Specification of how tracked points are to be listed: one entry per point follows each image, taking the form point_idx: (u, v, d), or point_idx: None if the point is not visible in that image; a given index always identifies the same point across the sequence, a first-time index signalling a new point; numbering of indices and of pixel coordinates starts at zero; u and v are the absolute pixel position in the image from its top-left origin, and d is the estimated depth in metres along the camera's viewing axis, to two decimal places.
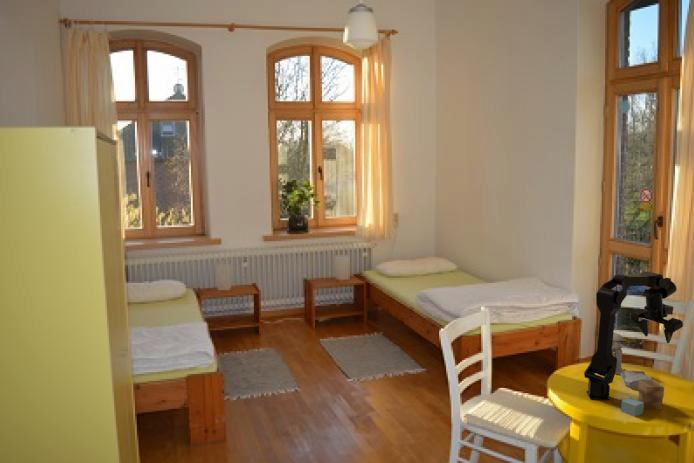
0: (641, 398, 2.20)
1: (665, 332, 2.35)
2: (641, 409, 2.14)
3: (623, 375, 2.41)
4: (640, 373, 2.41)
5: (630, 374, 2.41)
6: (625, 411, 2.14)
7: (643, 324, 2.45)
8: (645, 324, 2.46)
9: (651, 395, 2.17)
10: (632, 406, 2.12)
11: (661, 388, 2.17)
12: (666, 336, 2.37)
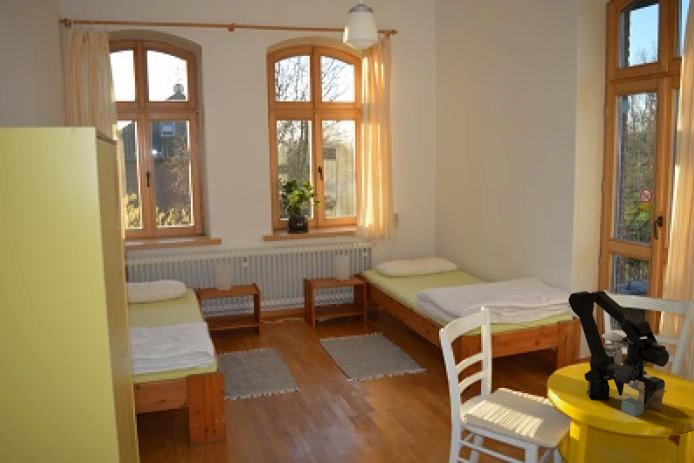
0: (641, 398, 2.20)
1: None
2: (641, 409, 2.14)
3: None
4: None
5: None
6: (625, 411, 2.15)
7: None
8: None
9: None
10: (631, 406, 2.12)
11: None
12: None
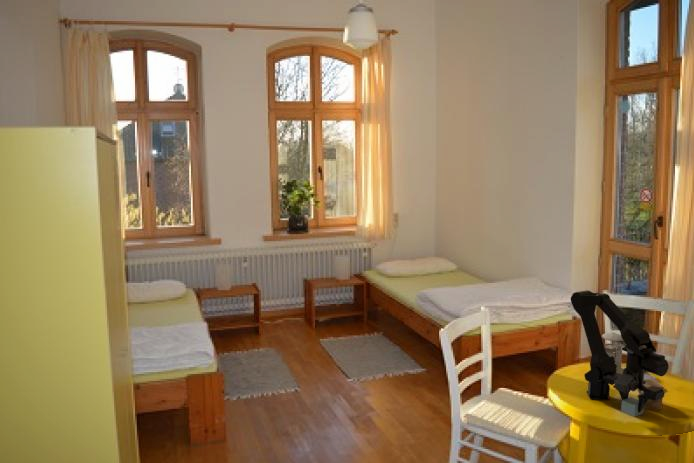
0: None
1: None
2: None
3: None
4: (644, 373, 2.41)
5: None
6: (625, 410, 2.14)
7: None
8: None
9: None
10: (631, 405, 2.12)
11: None
12: None
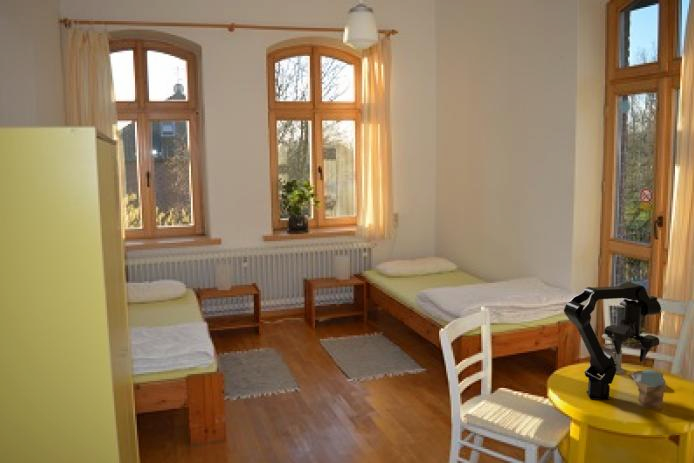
0: (642, 398, 2.20)
1: None
2: (661, 380, 2.18)
3: (634, 375, 2.41)
4: None
5: None
6: (645, 382, 2.19)
7: None
8: None
9: (651, 395, 2.17)
10: (652, 376, 2.17)
11: (661, 388, 2.17)
12: None
